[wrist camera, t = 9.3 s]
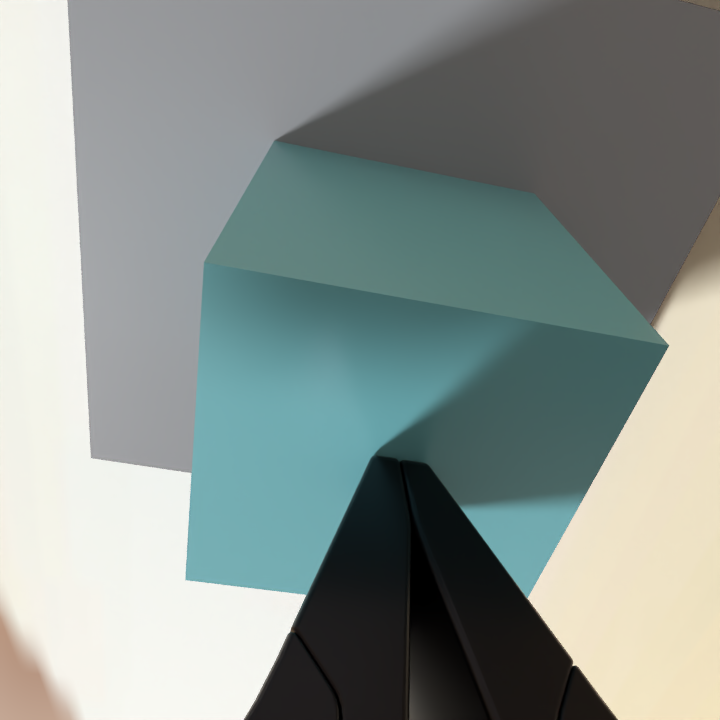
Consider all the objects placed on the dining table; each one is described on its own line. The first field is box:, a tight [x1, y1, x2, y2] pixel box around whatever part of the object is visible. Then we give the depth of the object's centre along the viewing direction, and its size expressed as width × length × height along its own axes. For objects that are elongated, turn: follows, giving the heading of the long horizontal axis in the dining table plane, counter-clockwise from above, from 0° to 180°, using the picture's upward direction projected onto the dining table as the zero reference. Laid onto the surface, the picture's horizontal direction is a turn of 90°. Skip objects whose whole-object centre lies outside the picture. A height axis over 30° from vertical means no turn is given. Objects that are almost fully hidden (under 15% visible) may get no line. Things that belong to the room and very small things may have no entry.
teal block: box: [186, 141, 669, 598], centre depth 11 cm, size 6×6×7 cm
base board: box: [68, 0, 720, 473], centre depth 15 cm, size 14×14×1 cm
